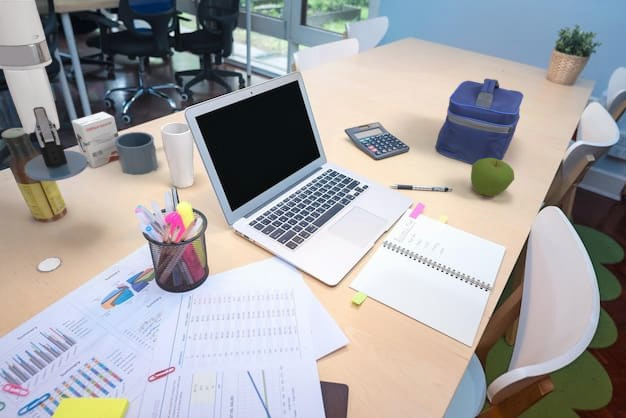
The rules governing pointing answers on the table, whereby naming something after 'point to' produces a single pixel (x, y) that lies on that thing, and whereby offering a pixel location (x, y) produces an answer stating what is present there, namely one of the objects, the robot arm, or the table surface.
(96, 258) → the table surface
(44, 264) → the white flat disc
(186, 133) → the drinking glass
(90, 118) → the ink box
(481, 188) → the apple
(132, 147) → the canister
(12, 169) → the sauce bottle
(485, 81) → the lunch bag
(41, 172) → the canister lid
